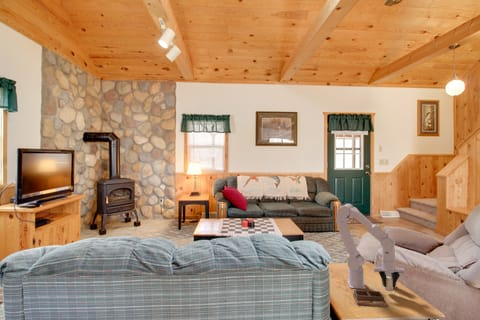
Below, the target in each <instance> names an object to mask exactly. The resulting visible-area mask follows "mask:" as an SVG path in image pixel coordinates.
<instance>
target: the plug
mask: <svg viewBox="0 0 480 320" xmlns="http://www.w3.org/2000/svg"><path fill="white" fill-rule="evenodd" d="M384 290H385V291H387V292H393V291H394V288H393V278H392V277H388V276H386V287H384Z"/></svg>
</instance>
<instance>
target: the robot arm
mask: <svg viewBox="0 0 480 320" xmlns="http://www.w3.org/2000/svg"><path fill="white" fill-rule="evenodd" d="M358 209H359V208H357V207H355V206H354V205H353V204H351V203H345V204H343V205H340V206H339V207H338V208H337V209H336V217H335V223H336V226H337V228H338V231H339V234H340V236H341V237H340V238H341V239H342V242H343V245H344V248H345V250H346V253H347V254H346V260H347V267H348V279H347V280H346V282H347V284H348V286H349V288H350V289H362V290H366V289H367V287H366V285H365V283H364V280H365V279H364V277H365V276H364V268H363V265H365V259H364V257H363V256H362V255H361V253H360V251H359V250H357V247H356V244H355V242H354V239H353V237H352V233H351V231H350V228H349V225H348V223H347V222H348V220H349V219H356V220H357V221H358V222H359V223H361V224H362V225H363V226H364V227H366V228H367V229H368V233H370V235H371V236H373V238H375V239H376V240H377V241H378V242H380V246H381V247H382V248H381V252H382V253H381V260H382V261H381V263H382V267H381V266H373V267H372V271H373V272H374V273H378V274H379V275H380V279H381V283H382V282H383V285H382V286H383V287H384V288H385V287H386V274H385V272H390V273H391V275H392V278H393V289H394V288H396V287H395V285H396V286H397V282H398V279H399V278H400V274H404V275H405V273H406V270H405V268H402V267H397V266H396V253H395V252H396V251H395V245H396V238H395V237H394V236H393V235H392V234H390V233H389V232H386V231H385V230H384V229H382V226H381V225H378V224H374V223H372V222H371V221H370V220H369V219H368V218H367V217H366V216H365V214H363V213H361V212H360V210H358Z"/></svg>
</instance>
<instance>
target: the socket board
mask: <svg viewBox="0 0 480 320" xmlns="http://www.w3.org/2000/svg"><path fill="white" fill-rule="evenodd" d="M352 297H353V299H354V301H355V303H356V305H357V306H371V307H388V304H387V302H386V301H385V297H384V295H383V294H382V292H381V291H377V290H376V291H375V290H359V289H358V290H357V289H354V290H353V293H352Z"/></svg>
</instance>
